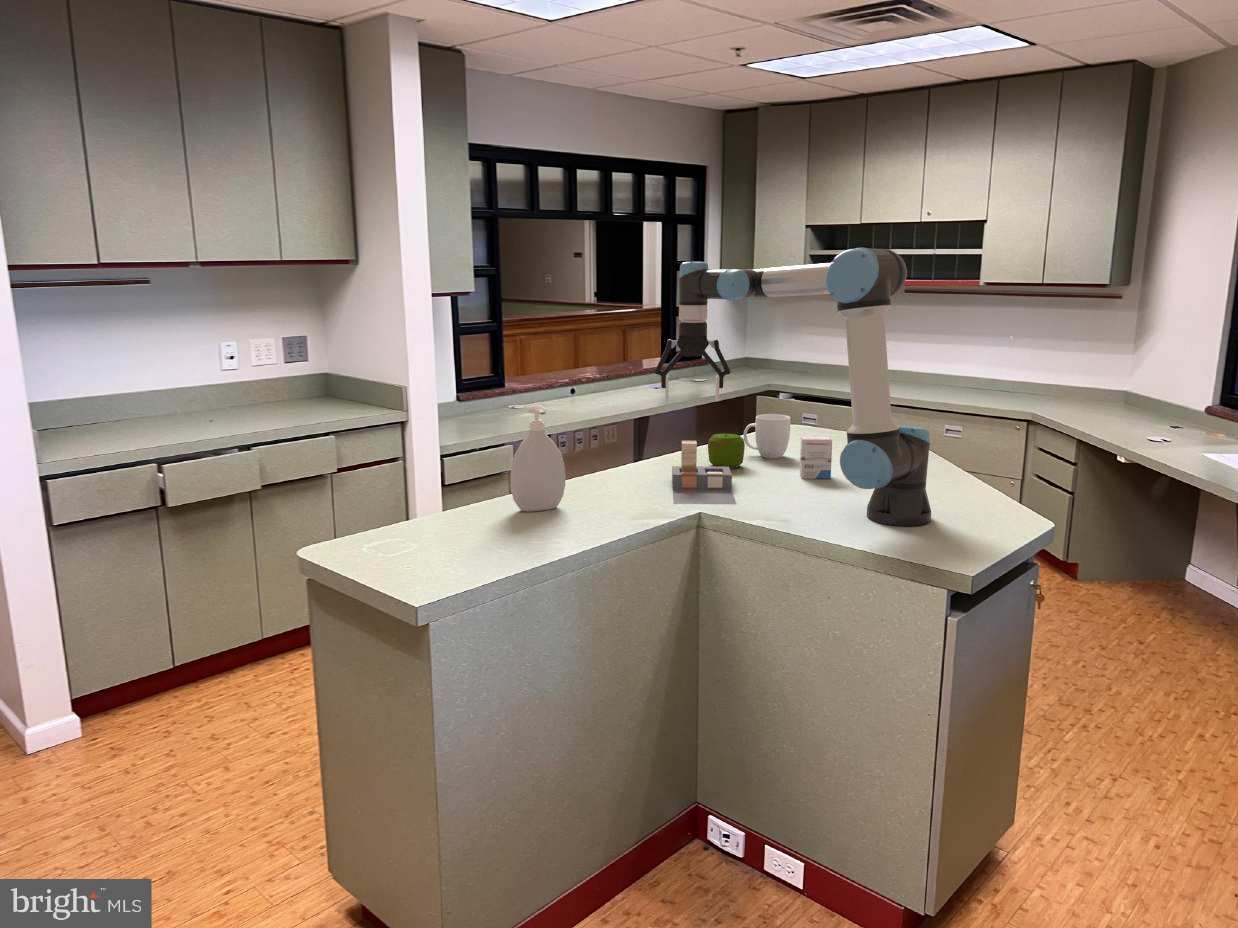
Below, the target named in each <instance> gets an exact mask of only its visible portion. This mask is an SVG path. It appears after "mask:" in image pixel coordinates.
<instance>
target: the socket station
mask: <svg viewBox="0 0 1238 928" xmlns="http://www.w3.org/2000/svg"><path fill="white" fill-rule="evenodd" d="M732 485H733V473H732V472H731V469H730V468H729V467H715V466H698V465H696V472H681V465H680V466H679V465H678V466H677V465H676V466H675V465H671V486H672V487H671V488H672V499H673V504H677V505H679V504H680V505H681V504H682V505H685V504H686V505H737V501H736V499H735V496H734V493H733V490H732V487H733V486H732Z"/></svg>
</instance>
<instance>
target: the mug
mask: <svg viewBox="0 0 1238 928" xmlns="http://www.w3.org/2000/svg"><path fill="white" fill-rule="evenodd" d="M751 427H753V428H755V429H754V431H755V444H756V445H753V444H751V443H750V442H749V440H748V435H747V434H748V431H749V429H750V428H751ZM790 435H791V416H790V415H786V414H780V413H779V414H778V413H777V414H776V413H765V414H757V415H756V416H755V422H754V423H749V424H748V425H747V426H746V427H745V429H744V431H743V439H744V444H746V445H745V446H747V447H749V449H752V450H754V451H755V450H756V451H758V453H759V455H760V456H761V457H762V458H764V459H769V460H770V459H774V460H775V459H781V458H782V457H783V456H784V455H785V453H786V451H787V448H788V446H789V442H790Z"/></svg>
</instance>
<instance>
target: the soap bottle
mask: <svg viewBox="0 0 1238 928" xmlns="http://www.w3.org/2000/svg"><path fill="white" fill-rule="evenodd" d="M526 412H527V413H528V414H534V419H531V420H530V422H529V433H528V434H527V435H526V436H525V438H524V439H523V440H522V441H521V443H520V445H519V446H518V448H517V450H516V452H515V453H514V455H513V457H512V458H513V459H512V463H511V468H510V476H509V477H510V480H509V482H510V492H511V495H512V500H513V502H514V503H515V504H516V506H517V508H518V509H519V510H520V511H522V512H525V513H526V512H527V513H532V512H542V511H543V512H544V511H550V510H554V509H555V508H557V507H558V506H559V504H560V503H561V501H562V498H564V494H565V489H566V488H565V487H566V468H565V462H564V459H563V455H562V452H561V451H560V449H559V448H558V446H557V444H556V443H555V442H554V441H553V439H551V438H550V436H548V435H547V433H546V430H545V421H544V420H543V419H542V418H541V419H540V415H541V416H542V415H547V414H546V413H547V409H546V407H545V406H544V405H541V404H538V403H537V404H532V405H530V406H529V407H528V408H527V409H526Z"/></svg>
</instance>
